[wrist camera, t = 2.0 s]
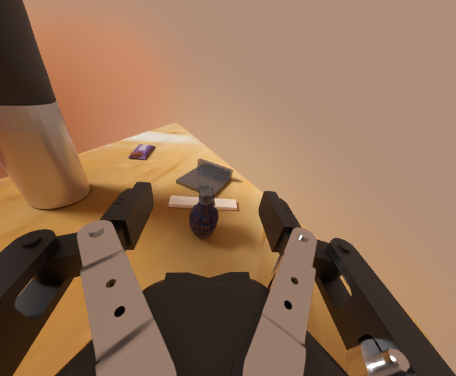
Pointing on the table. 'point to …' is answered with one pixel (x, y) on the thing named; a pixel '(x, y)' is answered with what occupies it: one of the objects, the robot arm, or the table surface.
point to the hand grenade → (204, 213)
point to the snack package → (141, 151)
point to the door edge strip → (191, 201)
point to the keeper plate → (206, 176)
